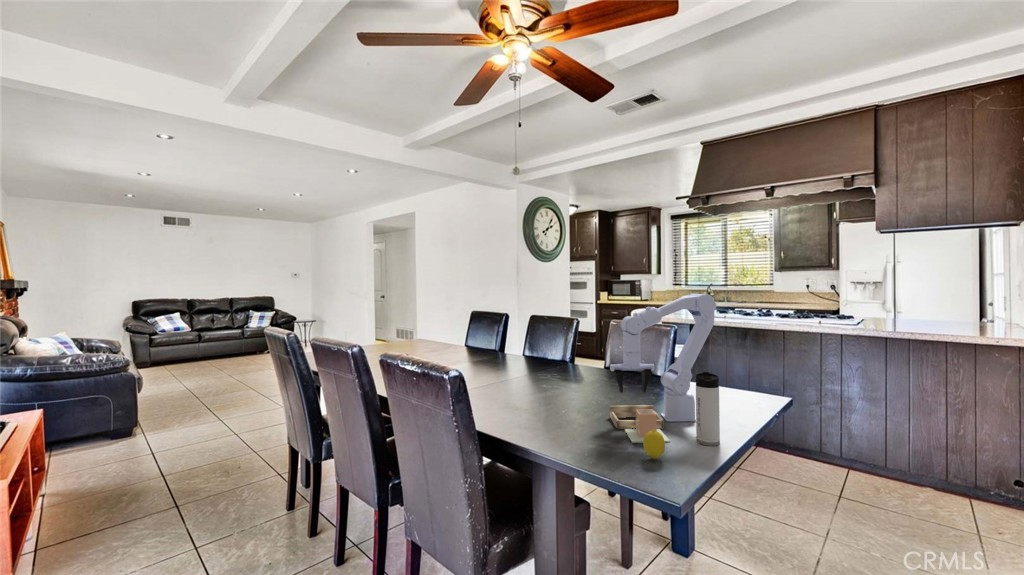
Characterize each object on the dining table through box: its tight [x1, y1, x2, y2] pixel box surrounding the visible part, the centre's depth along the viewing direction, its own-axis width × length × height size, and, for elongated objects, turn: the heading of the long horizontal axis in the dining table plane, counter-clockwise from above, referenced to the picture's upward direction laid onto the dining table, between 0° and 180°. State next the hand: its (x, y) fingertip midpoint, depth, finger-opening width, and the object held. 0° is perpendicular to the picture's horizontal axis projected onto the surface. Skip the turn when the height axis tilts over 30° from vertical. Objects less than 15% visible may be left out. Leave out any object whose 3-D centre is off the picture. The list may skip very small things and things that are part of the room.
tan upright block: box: [635, 409, 658, 437], centre depth 134 cm, size 5×5×7 cm
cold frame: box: [609, 404, 665, 430], centre depth 146 cm, size 15×12×4 cm
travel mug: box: [695, 371, 721, 447], centre depth 128 cm, size 6×7×20 cm
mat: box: [624, 428, 671, 444], centre depth 133 cm, size 11×10×1 cm
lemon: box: [642, 429, 666, 460], centre depth 116 cm, size 6×6×8 cm
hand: (632, 391), depth 148 cm, fingers open, 7 cm apart
